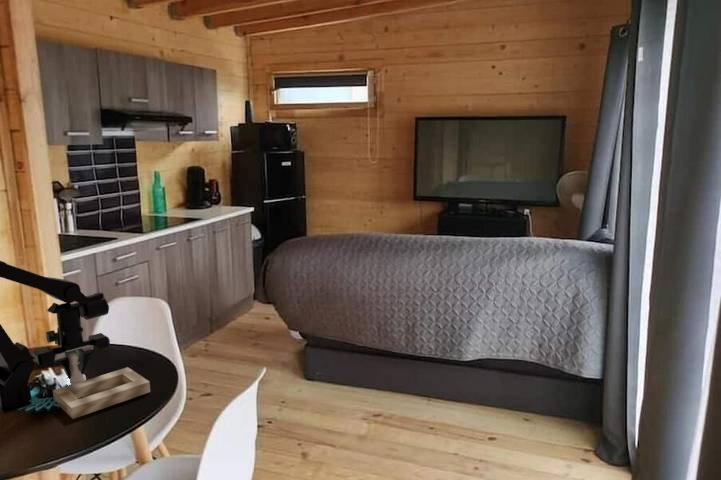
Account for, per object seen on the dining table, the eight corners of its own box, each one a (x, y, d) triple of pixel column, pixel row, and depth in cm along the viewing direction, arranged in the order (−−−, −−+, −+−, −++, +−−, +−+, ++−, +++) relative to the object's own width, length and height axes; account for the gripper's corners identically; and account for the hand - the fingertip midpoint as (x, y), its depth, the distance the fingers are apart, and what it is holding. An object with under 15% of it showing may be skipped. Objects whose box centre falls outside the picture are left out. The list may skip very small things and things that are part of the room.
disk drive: (35, 370, 167) (89, 361, 172) (34, 361, 166) (88, 353, 171) (41, 357, 176) (92, 350, 181) (40, 349, 176) (91, 342, 181)
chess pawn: (87, 378, 159) (84, 349, 157) (84, 385, 154) (80, 355, 152) (68, 380, 158) (65, 351, 156) (64, 388, 153) (60, 357, 151)
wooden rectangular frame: (72, 419, 136) (71, 408, 135) (54, 400, 146) (52, 390, 145) (150, 391, 150) (149, 381, 149) (128, 376, 160) (127, 367, 159)
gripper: (93, 310, 165) (98, 359, 168) (23, 326, 152) (30, 378, 155) (108, 318, 157) (113, 369, 160) (35, 335, 144) (43, 390, 147)
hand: (75, 376), depth 156 cm, fingers closed on chess pawn, 3 cm apart
